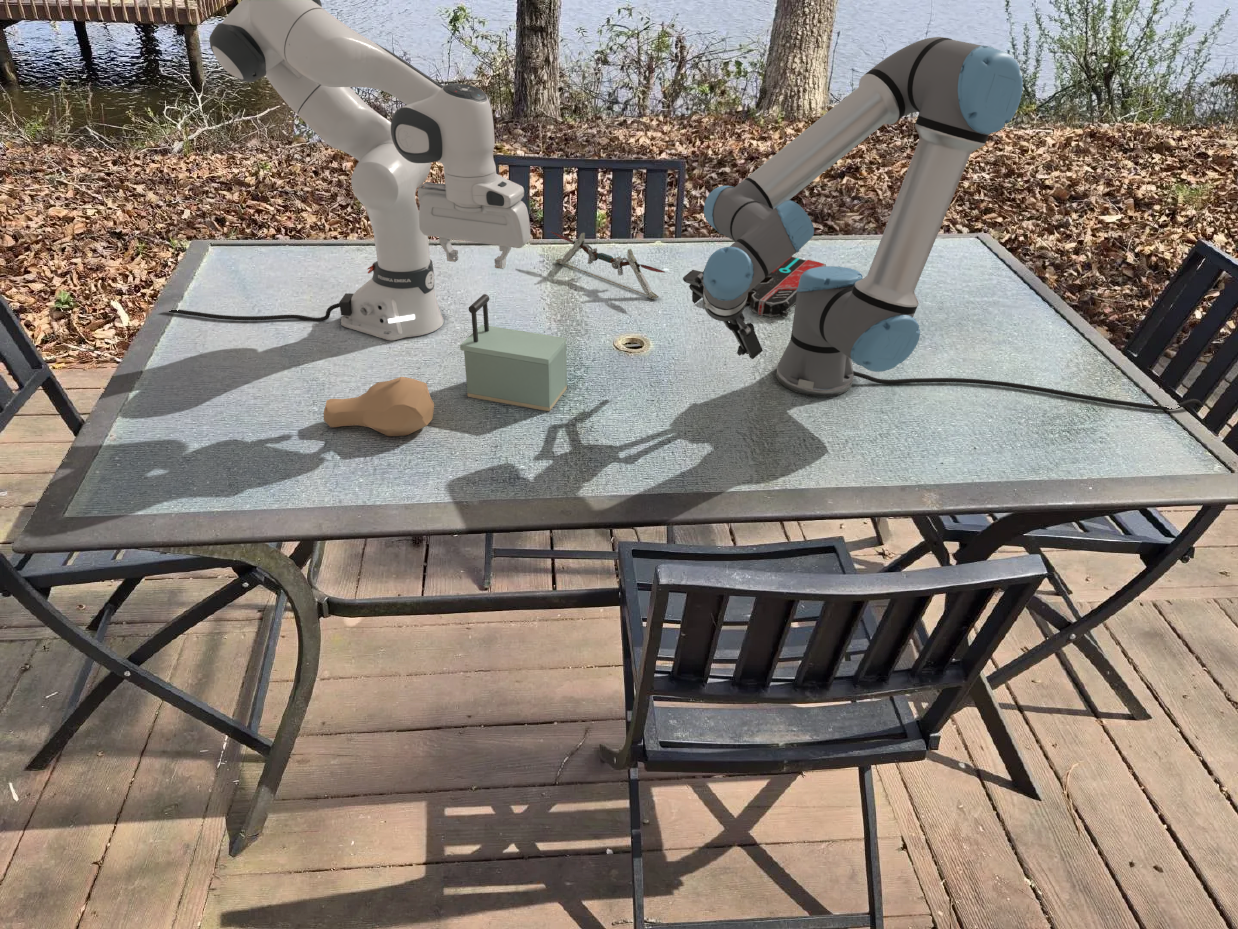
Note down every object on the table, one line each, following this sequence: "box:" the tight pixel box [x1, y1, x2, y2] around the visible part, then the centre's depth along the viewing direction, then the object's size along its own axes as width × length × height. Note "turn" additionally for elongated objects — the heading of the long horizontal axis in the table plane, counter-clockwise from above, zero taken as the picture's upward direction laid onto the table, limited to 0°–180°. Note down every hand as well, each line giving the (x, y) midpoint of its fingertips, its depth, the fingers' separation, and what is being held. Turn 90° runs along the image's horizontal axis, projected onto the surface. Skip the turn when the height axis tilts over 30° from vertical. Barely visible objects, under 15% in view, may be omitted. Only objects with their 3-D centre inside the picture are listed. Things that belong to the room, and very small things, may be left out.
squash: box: [323, 376, 435, 437], centre depth 157 cm, size 11×20×9 cm, turn 90°
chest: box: [463, 343, 568, 412], centre depth 168 cm, size 17×10×10 cm, turn 73°
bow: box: [550, 231, 666, 300], centre depth 217 cm, size 39×2×10 cm, turn 47°
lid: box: [459, 293, 567, 365], centre depth 163 cm, size 18×10×8 cm, turn 73°
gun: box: [746, 256, 827, 318], centre depth 215 cm, size 4×31×19 cm
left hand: (476, 264), depth 159 cm, fingers open, 8 cm apart
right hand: (721, 323), depth 171 cm, fingers open, 13 cm apart
